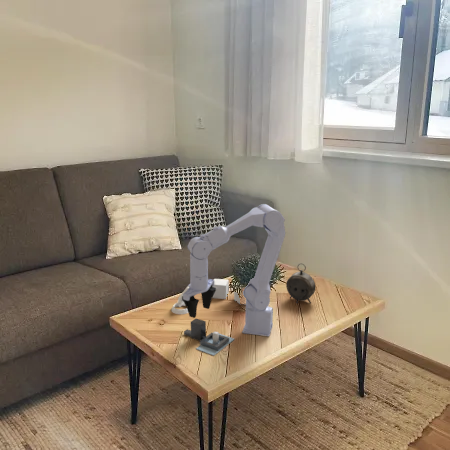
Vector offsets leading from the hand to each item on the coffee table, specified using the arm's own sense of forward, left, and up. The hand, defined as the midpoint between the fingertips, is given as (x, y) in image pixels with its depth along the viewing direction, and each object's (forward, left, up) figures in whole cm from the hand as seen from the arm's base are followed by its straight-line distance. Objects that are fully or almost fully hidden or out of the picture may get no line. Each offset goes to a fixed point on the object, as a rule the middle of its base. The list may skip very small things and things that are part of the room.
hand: (199, 312), depth 154 cm
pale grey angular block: (-9, -33, -10) cm, 35 cm away
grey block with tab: (-2, +1, -10) cm, 10 cm away
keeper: (-6, +2, -10) cm, 12 cm away
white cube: (+2, -35, -10) cm, 36 cm away
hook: (+13, -19, -10) cm, 25 cm away
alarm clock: (-30, -37, -10) cm, 49 cm away
